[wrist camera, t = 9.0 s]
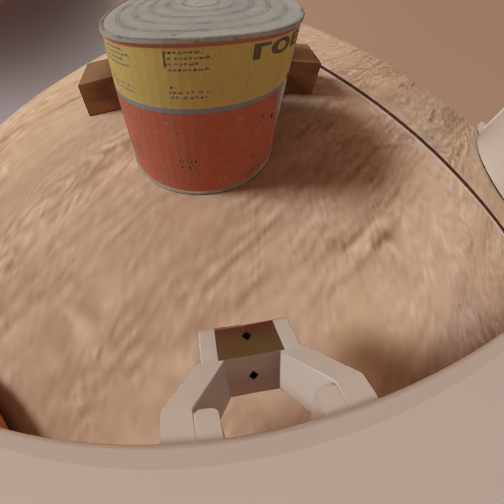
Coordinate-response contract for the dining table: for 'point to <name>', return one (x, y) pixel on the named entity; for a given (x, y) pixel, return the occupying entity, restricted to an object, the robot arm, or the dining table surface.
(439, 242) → the dining table surface
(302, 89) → the bench stop
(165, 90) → the canned food
